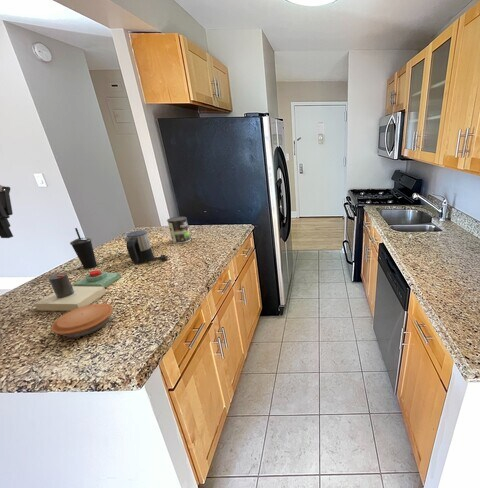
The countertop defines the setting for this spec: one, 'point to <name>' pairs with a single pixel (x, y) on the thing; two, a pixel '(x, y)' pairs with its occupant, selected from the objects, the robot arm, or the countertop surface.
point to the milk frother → (140, 247)
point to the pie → (83, 320)
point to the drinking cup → (84, 251)
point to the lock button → (95, 273)
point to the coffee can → (179, 229)
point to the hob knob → (61, 285)
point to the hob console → (71, 299)
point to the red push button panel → (98, 280)
